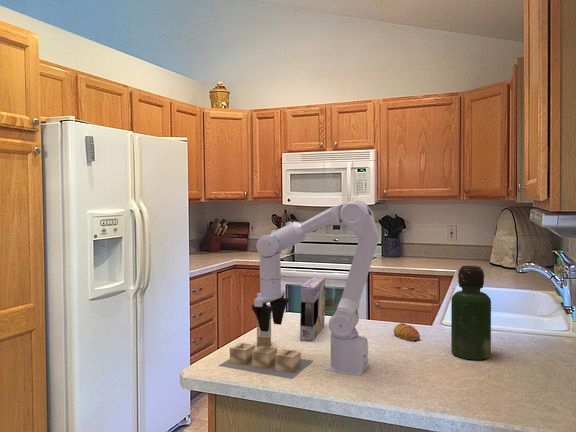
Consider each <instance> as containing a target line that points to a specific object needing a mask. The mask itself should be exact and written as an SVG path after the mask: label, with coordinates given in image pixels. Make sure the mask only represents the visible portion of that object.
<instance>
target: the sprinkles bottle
mask: <svg viewBox="0 0 576 432" xmlns="http://www.w3.org/2000/svg"><path fill="white" fill-rule="evenodd" d="M267 305H268V306H271V305H270V302H269V303H267ZM260 346H266V347H272V314H271V315H270V323H269V330H268V332H265V331H261V330H260V327H259V323H258V319H257V318H256V347H257V348H258V347H260Z"/></svg>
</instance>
